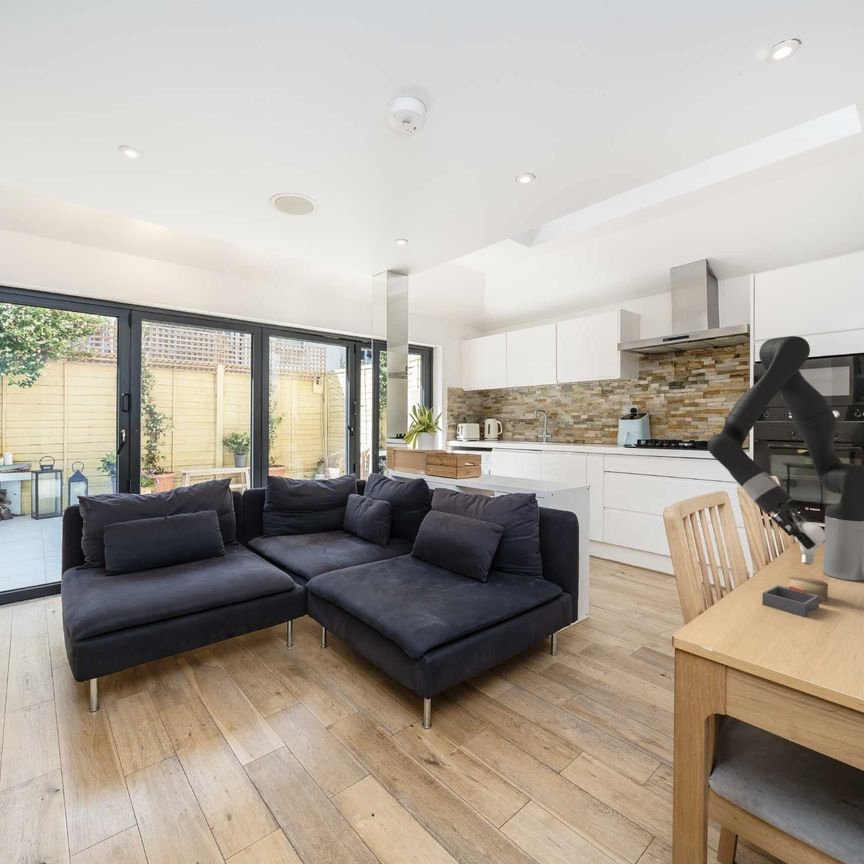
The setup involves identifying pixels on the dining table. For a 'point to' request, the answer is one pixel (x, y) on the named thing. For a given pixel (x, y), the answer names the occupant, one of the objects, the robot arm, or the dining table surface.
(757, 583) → the dining table surface
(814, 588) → the oak stand
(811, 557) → the lightbulb
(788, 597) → the dark grey open tray
